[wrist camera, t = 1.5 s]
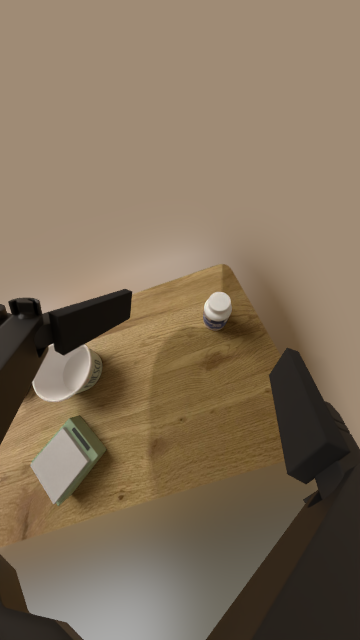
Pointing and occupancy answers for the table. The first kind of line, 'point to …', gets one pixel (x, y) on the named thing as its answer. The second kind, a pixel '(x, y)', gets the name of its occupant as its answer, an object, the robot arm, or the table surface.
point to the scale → (67, 459)
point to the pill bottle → (217, 311)
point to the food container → (67, 373)
